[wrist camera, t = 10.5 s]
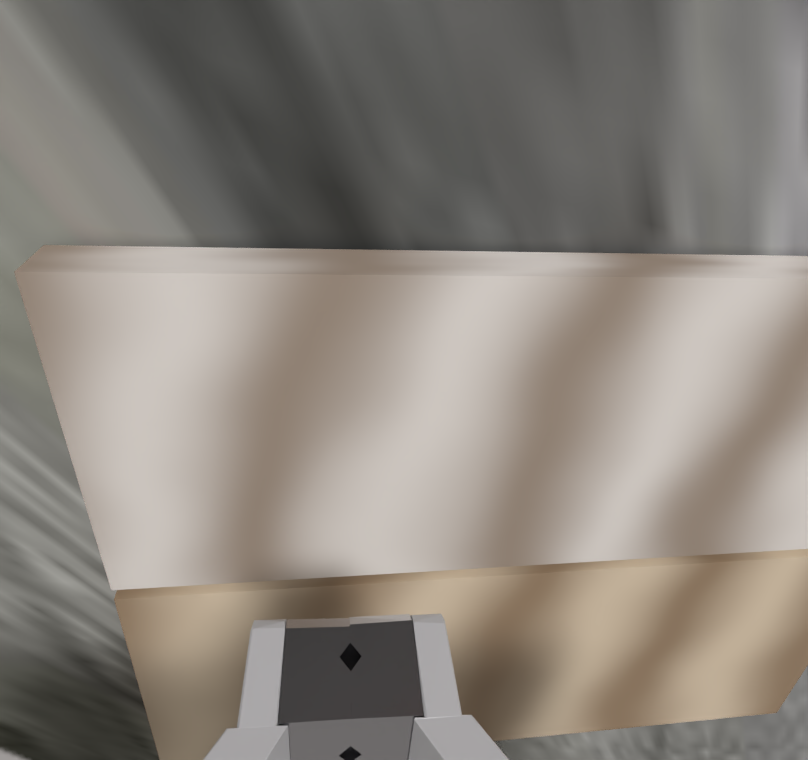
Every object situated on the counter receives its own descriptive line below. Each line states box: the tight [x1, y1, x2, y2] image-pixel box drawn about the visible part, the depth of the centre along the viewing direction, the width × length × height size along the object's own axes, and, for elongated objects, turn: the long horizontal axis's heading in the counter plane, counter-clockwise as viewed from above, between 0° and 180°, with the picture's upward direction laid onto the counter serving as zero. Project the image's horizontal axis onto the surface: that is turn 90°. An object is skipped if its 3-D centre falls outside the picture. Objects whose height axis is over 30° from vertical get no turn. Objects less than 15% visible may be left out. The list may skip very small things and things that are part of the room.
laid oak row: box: [114, 549, 808, 760], centre depth 23 cm, size 26×10×2 cm, turn 87°
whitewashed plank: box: [14, 245, 808, 590], centre depth 17 cm, size 26×10×2 cm, turn 87°
